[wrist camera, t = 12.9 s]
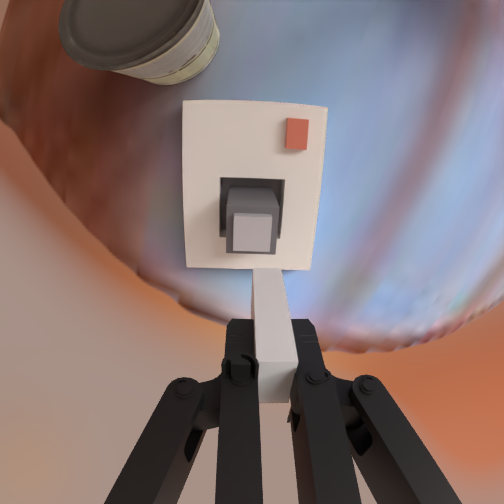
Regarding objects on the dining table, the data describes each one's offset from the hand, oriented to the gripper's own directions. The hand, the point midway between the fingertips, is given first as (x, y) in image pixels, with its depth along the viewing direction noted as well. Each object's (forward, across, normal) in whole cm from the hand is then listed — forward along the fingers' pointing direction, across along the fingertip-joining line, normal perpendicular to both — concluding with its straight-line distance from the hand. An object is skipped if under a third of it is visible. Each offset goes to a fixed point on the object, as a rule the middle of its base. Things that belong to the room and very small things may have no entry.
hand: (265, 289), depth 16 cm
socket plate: (+18, -1, +1) cm, 18 cm away
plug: (+18, -1, -1) cm, 18 cm away
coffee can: (+19, -10, +17) cm, 27 cm away
